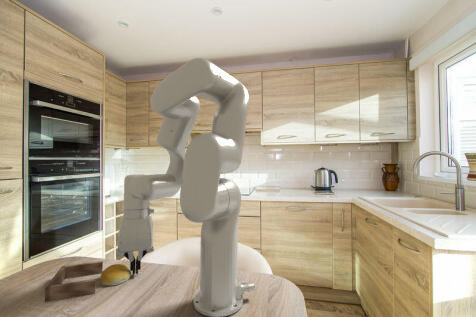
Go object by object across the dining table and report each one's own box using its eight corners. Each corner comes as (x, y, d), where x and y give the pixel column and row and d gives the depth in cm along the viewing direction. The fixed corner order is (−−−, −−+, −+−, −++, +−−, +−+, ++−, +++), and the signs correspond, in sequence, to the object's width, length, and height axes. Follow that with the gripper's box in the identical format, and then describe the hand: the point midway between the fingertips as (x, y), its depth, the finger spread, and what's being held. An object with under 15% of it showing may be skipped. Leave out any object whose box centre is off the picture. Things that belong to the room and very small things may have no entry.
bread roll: (101, 290, 67) (101, 275, 67) (100, 277, 74) (100, 264, 74) (133, 282, 71) (133, 268, 71) (129, 271, 79) (129, 258, 79)
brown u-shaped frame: (102, 271, 77) (102, 260, 77) (94, 293, 64) (95, 280, 64) (61, 277, 73) (62, 266, 73) (44, 302, 60) (45, 288, 60)
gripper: (160, 210, 81) (159, 264, 81) (111, 212, 76) (110, 271, 75) (162, 214, 74) (161, 273, 74) (108, 217, 69) (106, 282, 68)
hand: (135, 272), depth 75 cm, fingers closed
